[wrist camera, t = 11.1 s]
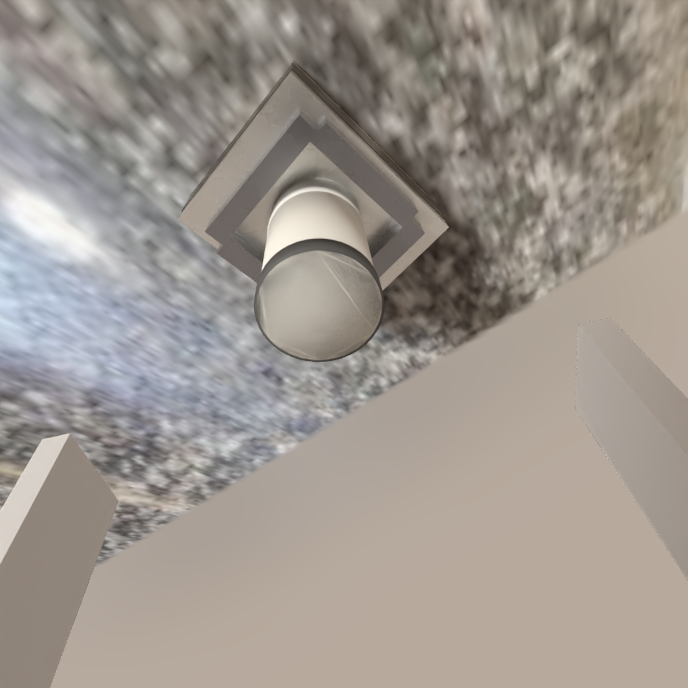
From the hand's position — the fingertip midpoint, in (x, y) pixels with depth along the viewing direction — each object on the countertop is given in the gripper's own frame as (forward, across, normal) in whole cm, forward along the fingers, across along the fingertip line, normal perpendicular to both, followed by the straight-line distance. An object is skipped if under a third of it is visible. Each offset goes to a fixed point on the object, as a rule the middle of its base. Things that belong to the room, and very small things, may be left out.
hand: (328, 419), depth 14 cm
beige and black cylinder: (+19, 0, -2) cm, 19 cm away
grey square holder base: (+25, 0, -2) cm, 25 cm away
